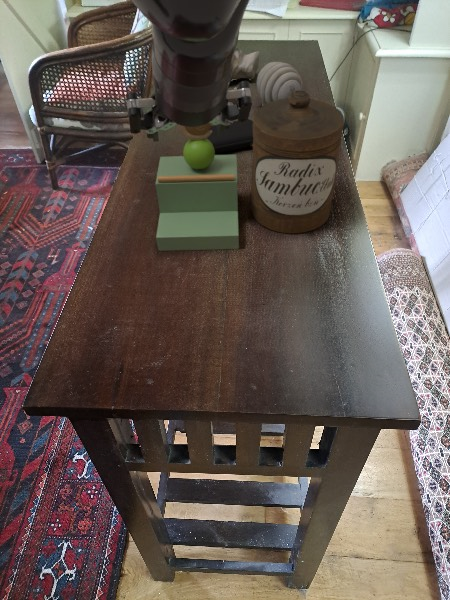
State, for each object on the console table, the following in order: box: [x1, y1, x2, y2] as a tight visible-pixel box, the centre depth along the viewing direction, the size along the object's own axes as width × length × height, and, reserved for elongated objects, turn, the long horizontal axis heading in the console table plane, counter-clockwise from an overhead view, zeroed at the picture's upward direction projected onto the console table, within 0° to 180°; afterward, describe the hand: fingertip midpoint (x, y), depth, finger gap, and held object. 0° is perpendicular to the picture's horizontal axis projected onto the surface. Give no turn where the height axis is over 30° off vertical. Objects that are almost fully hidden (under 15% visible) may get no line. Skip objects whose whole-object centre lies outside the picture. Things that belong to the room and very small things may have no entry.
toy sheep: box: [256, 61, 304, 107], centre depth 111 cm, size 11×17×11 cm, turn 31°
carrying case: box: [206, 118, 253, 155], centre depth 103 cm, size 11×3×15 cm
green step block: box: [155, 154, 240, 252], centre depth 81 cm, size 14×16×10 cm
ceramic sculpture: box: [230, 47, 261, 83], centre depth 126 cm, size 11×9×15 cm
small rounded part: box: [176, 123, 216, 169], centre depth 77 cm, size 5×6×12 cm
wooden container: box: [250, 90, 345, 234], centre depth 79 cm, size 15×15×22 cm
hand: (187, 130), depth 60 cm, fingers open, 8 cm apart
